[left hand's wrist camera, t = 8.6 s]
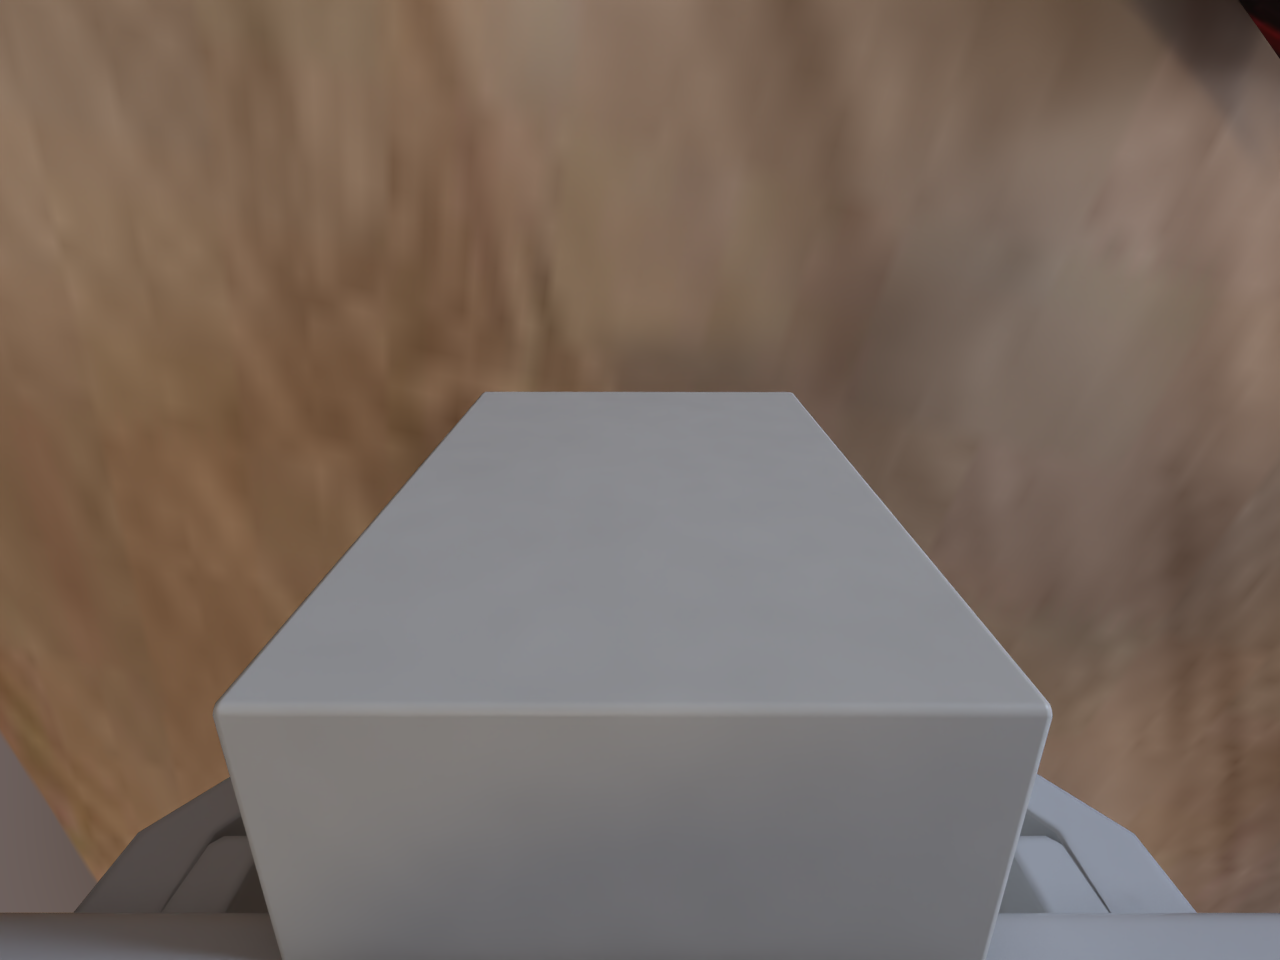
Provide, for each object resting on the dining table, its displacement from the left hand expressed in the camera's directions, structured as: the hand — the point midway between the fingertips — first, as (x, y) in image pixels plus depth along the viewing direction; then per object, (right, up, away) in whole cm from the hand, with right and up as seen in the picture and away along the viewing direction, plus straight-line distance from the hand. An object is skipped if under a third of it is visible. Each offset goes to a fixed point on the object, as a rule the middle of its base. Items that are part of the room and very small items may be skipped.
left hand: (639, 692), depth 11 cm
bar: (0, -6, +5) cm, 8 cm away
